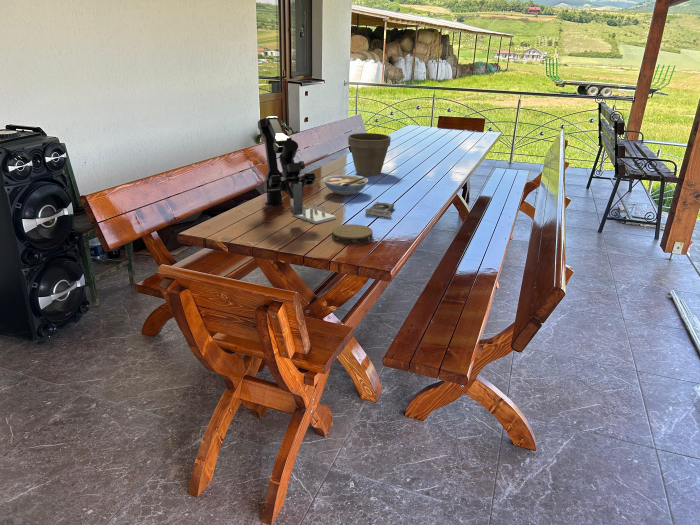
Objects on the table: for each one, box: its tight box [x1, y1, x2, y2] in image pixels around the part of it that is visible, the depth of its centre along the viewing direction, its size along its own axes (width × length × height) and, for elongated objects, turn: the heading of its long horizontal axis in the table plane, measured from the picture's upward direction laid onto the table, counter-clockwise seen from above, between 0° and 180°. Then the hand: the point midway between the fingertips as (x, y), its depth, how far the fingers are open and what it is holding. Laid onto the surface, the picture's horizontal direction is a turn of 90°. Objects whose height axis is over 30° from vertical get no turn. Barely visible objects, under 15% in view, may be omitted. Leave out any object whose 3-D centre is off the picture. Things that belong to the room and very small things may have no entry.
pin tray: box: [292, 202, 336, 225], centre depth 228 cm, size 16×11×5 cm
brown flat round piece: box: [331, 223, 373, 245], centre depth 205 cm, size 16×16×3 cm
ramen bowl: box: [323, 174, 370, 197], centre depth 264 cm, size 25×23×8 cm
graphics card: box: [364, 201, 395, 219], centre depth 237 cm, size 17×4×12 cm
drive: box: [289, 181, 303, 216], centre depth 214 cm, size 5×4×13 cm
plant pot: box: [347, 132, 392, 176], centre depth 307 cm, size 25×25×22 cm
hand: (297, 197), depth 212 cm, fingers closed on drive, 4 cm apart
